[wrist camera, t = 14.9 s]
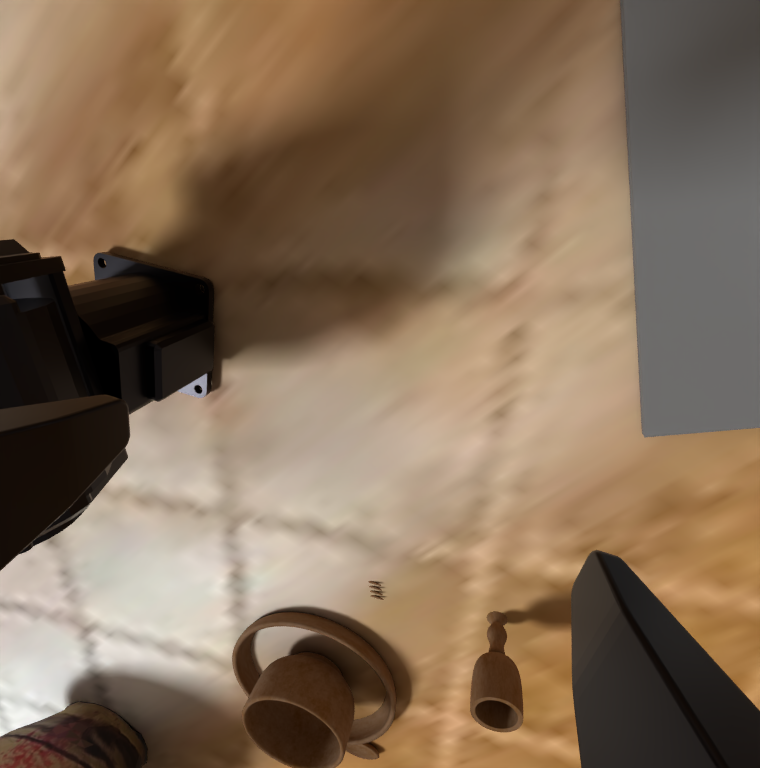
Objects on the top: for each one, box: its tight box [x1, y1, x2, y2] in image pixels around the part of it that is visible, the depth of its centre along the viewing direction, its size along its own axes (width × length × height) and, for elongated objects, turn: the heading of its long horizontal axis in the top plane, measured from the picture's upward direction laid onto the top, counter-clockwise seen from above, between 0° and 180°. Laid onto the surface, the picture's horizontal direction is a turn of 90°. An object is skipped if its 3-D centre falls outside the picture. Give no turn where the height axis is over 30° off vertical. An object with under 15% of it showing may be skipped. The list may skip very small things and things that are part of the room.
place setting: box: [232, 581, 523, 768], centre depth 28 cm, size 18×20×6 cm
